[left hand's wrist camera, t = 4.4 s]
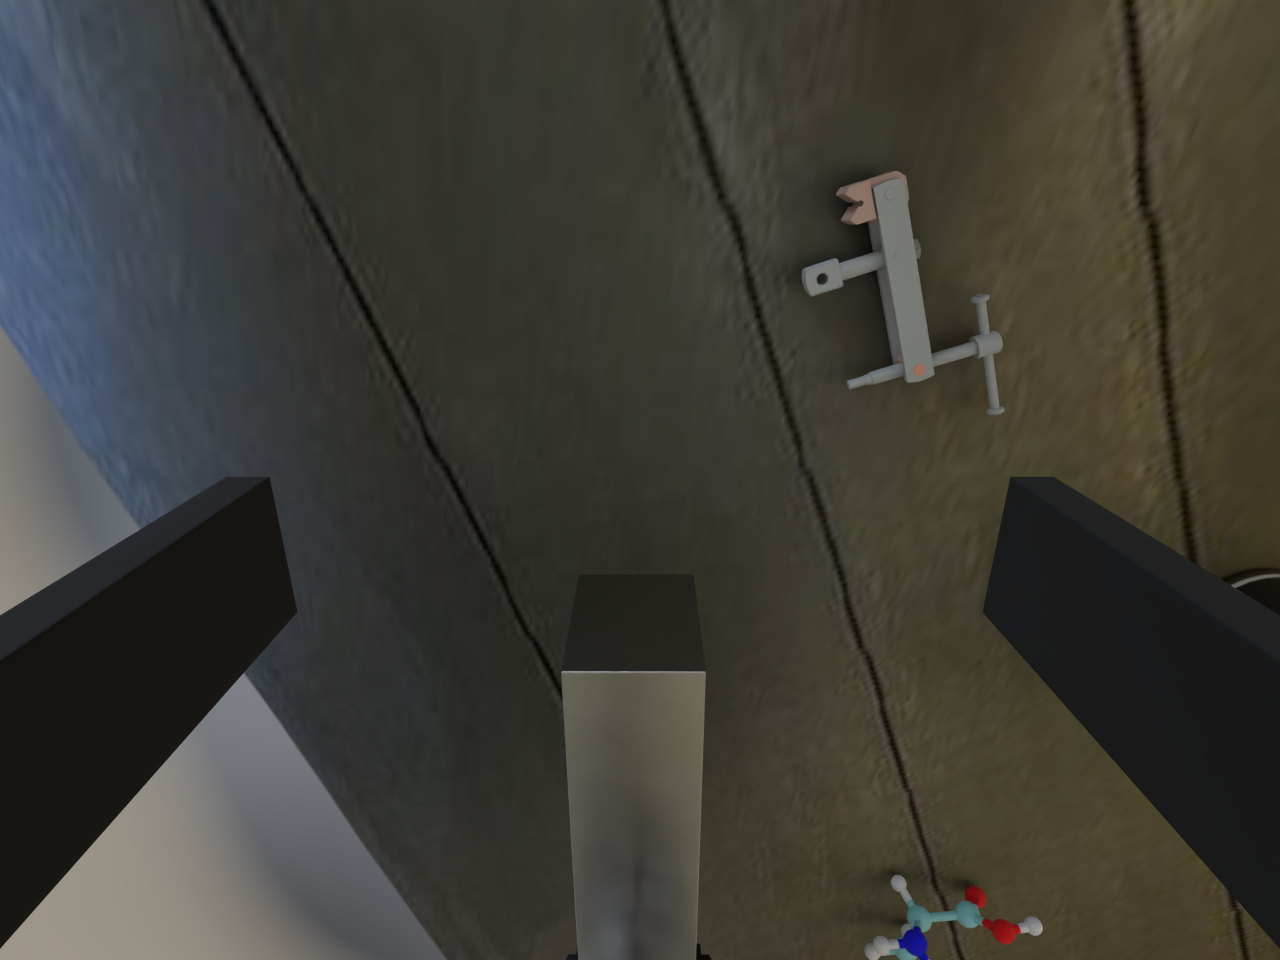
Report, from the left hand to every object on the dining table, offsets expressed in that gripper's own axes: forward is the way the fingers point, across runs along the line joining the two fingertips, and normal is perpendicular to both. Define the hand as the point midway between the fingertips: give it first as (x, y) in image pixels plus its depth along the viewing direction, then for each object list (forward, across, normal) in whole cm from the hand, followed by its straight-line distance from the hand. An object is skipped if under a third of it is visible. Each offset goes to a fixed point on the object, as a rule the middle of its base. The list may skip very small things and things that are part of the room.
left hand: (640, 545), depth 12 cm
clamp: (+30, +15, +1) cm, 33 cm away
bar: (+20, 0, -25) cm, 32 cm away
